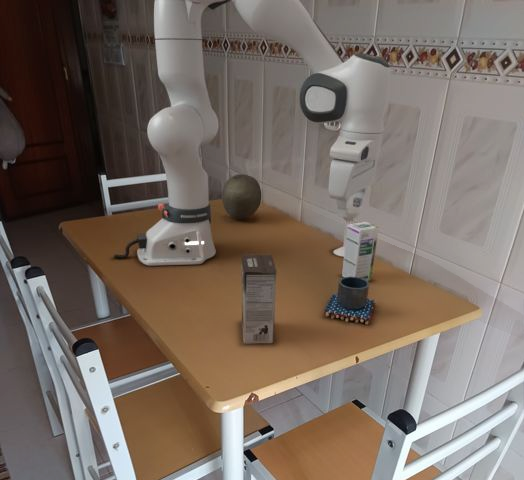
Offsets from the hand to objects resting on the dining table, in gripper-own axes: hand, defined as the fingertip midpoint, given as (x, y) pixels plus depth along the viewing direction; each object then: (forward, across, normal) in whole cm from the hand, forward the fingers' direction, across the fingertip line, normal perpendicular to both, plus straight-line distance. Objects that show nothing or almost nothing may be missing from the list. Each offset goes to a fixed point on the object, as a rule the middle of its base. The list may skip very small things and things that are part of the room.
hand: (349, 211), depth 110 cm
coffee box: (+22, +26, -8) cm, 35 cm away
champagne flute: (+22, -30, -10) cm, 38 cm away
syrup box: (+22, -14, 0) cm, 26 cm away
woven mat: (+22, +6, +6) cm, 23 cm away
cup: (+19, +6, +5) cm, 21 cm away
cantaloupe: (+23, -41, -52) cm, 70 cm away
